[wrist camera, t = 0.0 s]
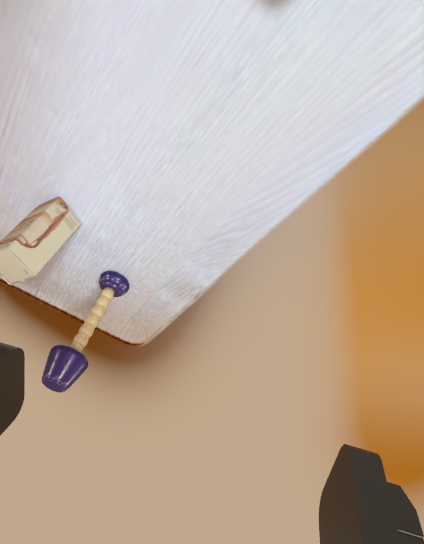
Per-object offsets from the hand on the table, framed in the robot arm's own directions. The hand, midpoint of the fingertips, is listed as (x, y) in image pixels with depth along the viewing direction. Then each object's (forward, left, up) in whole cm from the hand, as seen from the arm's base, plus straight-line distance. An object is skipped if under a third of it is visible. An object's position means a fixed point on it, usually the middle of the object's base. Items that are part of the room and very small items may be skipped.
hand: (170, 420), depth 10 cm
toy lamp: (+13, -35, -32) cm, 49 cm away
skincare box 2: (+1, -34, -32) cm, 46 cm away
